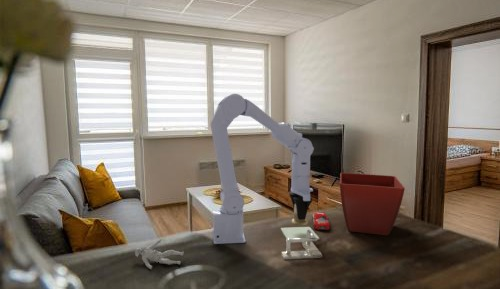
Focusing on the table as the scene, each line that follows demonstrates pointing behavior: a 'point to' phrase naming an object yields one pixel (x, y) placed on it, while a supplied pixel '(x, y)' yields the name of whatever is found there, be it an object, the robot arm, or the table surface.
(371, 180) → the plant pot
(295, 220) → the ringed peg
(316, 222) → the race car
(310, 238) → the wire frame
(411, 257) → the table surface
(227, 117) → the robot arm
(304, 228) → the sage mat
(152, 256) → the soldier figure
